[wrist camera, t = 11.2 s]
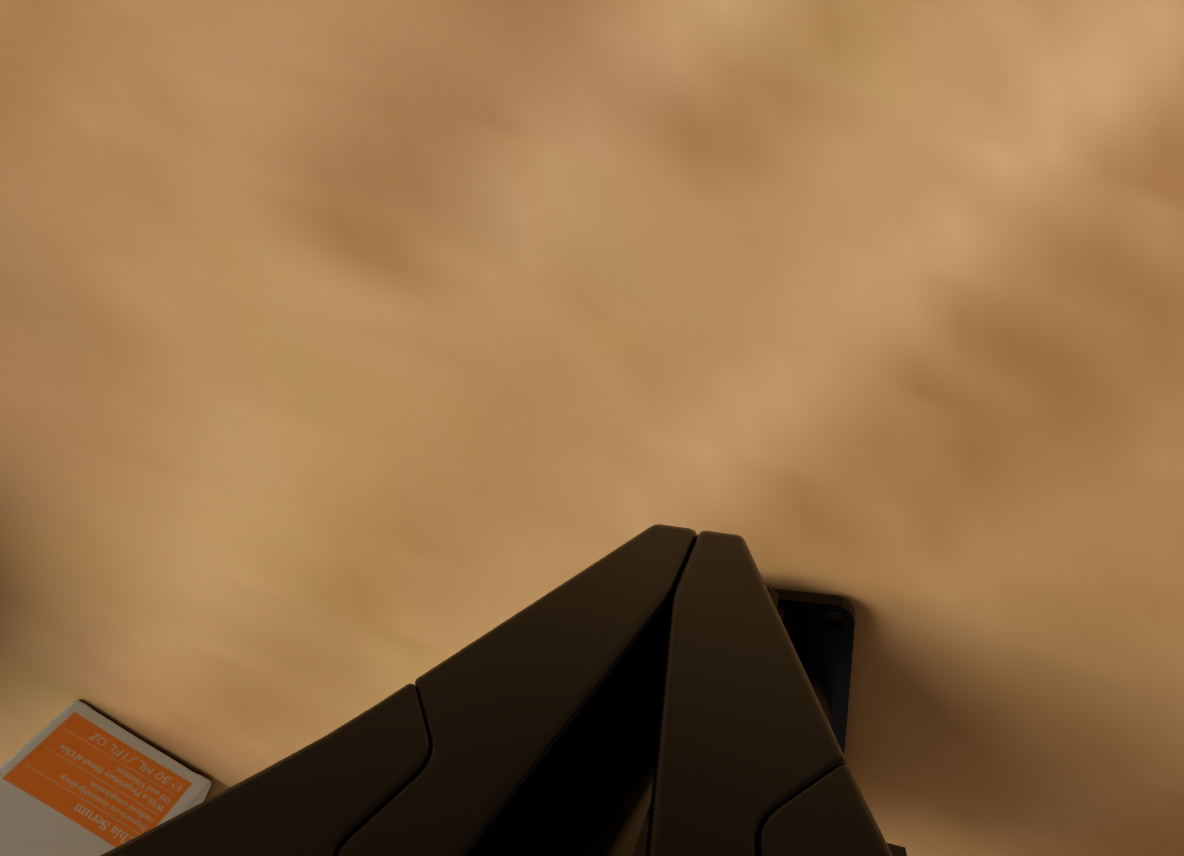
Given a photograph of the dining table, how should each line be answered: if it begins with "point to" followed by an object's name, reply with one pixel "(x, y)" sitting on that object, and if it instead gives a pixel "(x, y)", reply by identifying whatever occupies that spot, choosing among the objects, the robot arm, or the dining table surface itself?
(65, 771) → the skincare box
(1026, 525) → the dining table surface
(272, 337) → the dining table surface
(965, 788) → the dining table surface
